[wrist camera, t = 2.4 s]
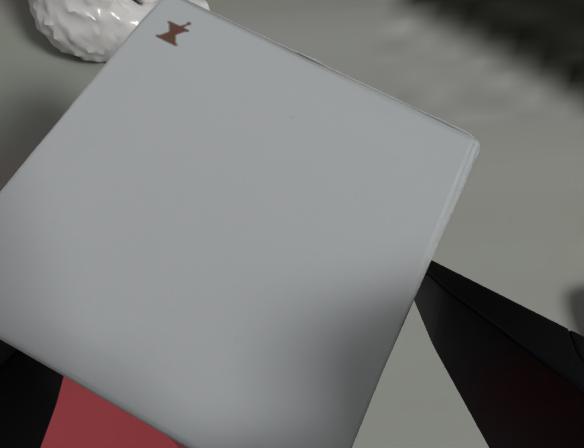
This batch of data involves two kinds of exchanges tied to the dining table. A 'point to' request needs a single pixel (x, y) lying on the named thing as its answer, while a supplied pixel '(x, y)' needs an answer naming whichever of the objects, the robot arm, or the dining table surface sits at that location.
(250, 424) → the supplement box
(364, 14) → the dining table surface
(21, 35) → the dining table surface
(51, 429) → the ink pad tray
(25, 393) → the robot arm
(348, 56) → the dining table surface
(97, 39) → the sitting furry creature
